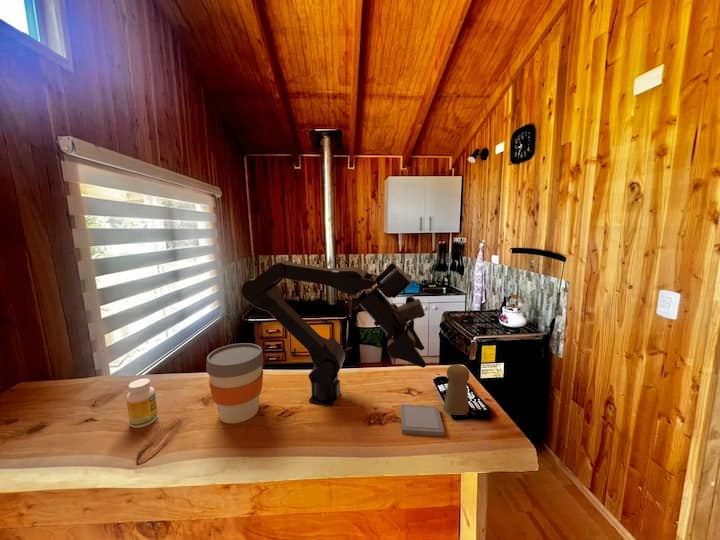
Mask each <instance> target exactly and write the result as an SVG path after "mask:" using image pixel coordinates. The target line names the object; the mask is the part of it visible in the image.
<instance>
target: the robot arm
mask: <svg viewBox="0 0 720 540" xmlns="http://www.w3.org/2000/svg"><path fill="white" fill-rule="evenodd" d="M283 279H285V280H292V281H299V282H305V283H311V284H318V285H324V286H327V287H329V288H332V289H334V290H335V291H338V292H341V293H343V294H347V295H351V298H350V299H351V309H352V310H354V309H356V308H357V307H358V306H361V308H362V309H363V310H364V311H365V312H366V313H367V314H368V315H369V316H370V318H371V319H373V321H374V322H373V324H374V326H375V327H376V328H377V327H378V326H379V327H380V329H382V330H383V332H384V333H385V338H386V339H387V340H388V341H387V344H386V345H387V346H386V354H387V355H388V356H389V357H390V358H391V359H392V360H394V359H399V360H402V361H405V362H408V363H410V364H413V365H416V366H418V367H420V368H425V367H426V366H427V363H426V360H425V359H424V358H423V357H422V356H423V355H421V353H420V352H419V351H424V350H425V346H424V344H423V342H422V341H421V339H420V337H419V335H418V333H417V332H416V330H415V320H416V319H421V318H423V317H425V315H426V314H425V310H424V307H423V304H422V302H421V299H419V298H415V297H414V296H412V295H409V296H406V298H405V303H403V304H402V305H400V306H398V305H397V304H396V303H393V302H392V303H391V302H390V301H389V300H388V299H387V298H389V299H391V298H392V299H396V297H398V296H399V295H400V294H401V293H402V292H404V291H405V290H407V288H409V287H410V286H411V285H412V284H413V281H412V280H411V278H410V276H408V274H407V273H406V271H404V270H403V269H401V268H400V266H398V265H396V263H394V261H392V262H391V263H390V264H388V265H387V267H386V268H385V269H384V270H383V271H382V272H381V273H379V274H373V273H370V272H369V273H368V272H366V271H364V269H362V268H361V267H357V266H356V267H355V266H353V267H352V266H351V267H349V266H348V267H346V266H344V267H336V268H328V267H325V266H324V267H323V266H318V265H311V264H309V265H308V264H302V263H297V262H290V261H288V260H281V261H278V262H275V263H273V264H272V265H271V267H269V268H268V269H266V270H265V271H264V272H262V273H261V274H259V275H258V276H257V277H254V278H252V279H249V280H246V281H245V282H244V283H243V284H242V286H241V296H242V298H243V299H244V300H245V301H246V302H247V303H248V304H250V305H252V306H253V307H255V308H257V309H259V310H263V311H265V312H266V313H269V315H270V316H271V317H273V318H274V319H275V320H276V321H277V322H278V323H279V324H280V325H281V326H282V327H283V328H284V329H285V330H286V331H287V332H288V333H289V334H290V335H291V336H292V337H293V338H295V340H296V341H298V343H300V345H302V347H304V348H305V350H307V352H308V354H309V357H310V358H311V362H312V364H313V365H314V367H313V368H312V369H311V370H310V372H309V374H308V378H309V381H310V383H311V384H310V385H311V397H309V399H308V401H309V403H313V404H318V405H325V406H333V405H334V404H335V402H336V401H337V399H338V398H339V396H340V394H341V380H340V379H339V374H338V373H339V372H340V370H341V368H342V366H343V364H344V361H345V359H346V352H345V350H344V349H343V347H344V346H343V344H341V343H339V342H338V341H337V340H336V338H335V337H334V336H333V335H331V336H329V338H326V337H323V336H321V335H320V334H319V332H317V331H316V330H315V329H314V328H313V327H312V326H311V325H309V323H307V321H306V320H305V319H303V318H302V317H301V315H299V314H298V313H297V312H296V311H295V310H294V309H293V308H292V307H291V305H289V304H288V303H287V302H286V301H285V300H284V298H283V297H282V294H281V292H280V290H279V288H278V286H277V285H278V284H280V283H281V282H282V281H283ZM361 291H362V292H361ZM360 292H361V293H360ZM359 293H360V294H359ZM357 294H359V295H357Z"/></svg>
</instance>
